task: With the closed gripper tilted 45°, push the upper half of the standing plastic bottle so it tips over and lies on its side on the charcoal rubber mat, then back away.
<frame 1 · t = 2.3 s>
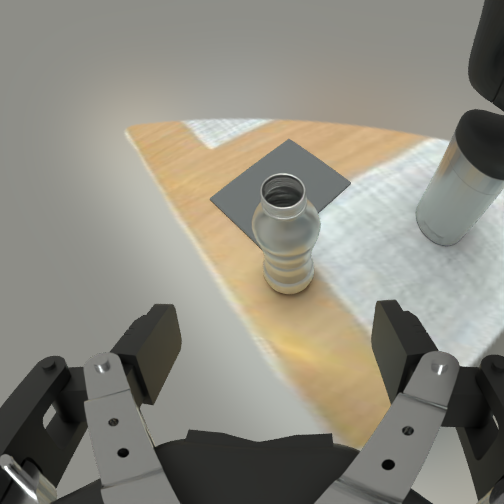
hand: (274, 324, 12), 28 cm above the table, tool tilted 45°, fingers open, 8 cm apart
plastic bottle: (289, 276, 43), on the table
rubber mat: (280, 190, 48), on the table
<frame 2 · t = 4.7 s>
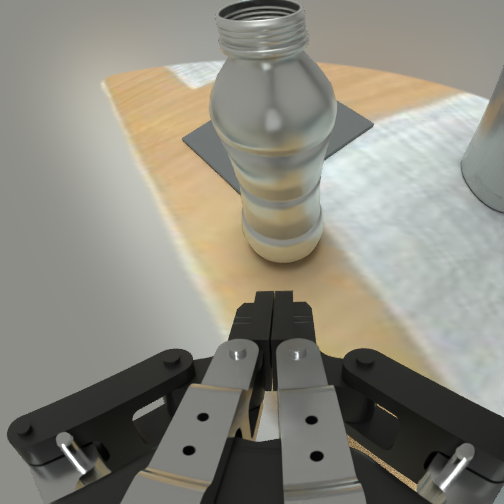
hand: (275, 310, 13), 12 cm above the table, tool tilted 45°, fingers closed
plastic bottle: (284, 238, 28), on the table
rubber mat: (278, 129, 34), on the table
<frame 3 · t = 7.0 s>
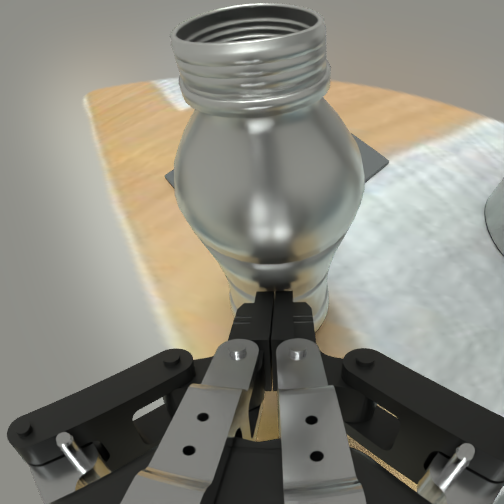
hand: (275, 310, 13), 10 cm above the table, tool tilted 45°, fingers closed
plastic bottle: (280, 312, 23), on the table
rubber mat: (277, 166, 29), on the table
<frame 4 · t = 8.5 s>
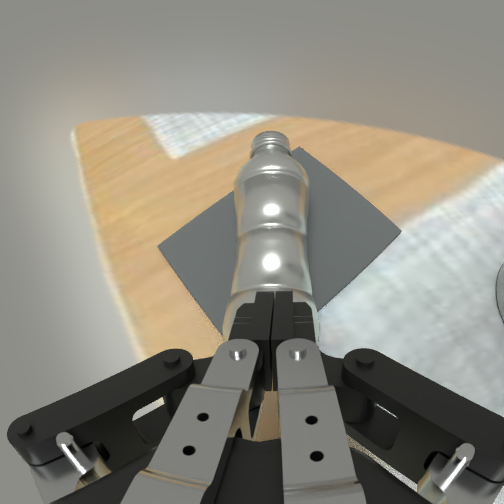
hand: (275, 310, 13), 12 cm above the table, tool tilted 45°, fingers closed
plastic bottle: (270, 371, 19), point 4 cm above the table, touching rubber mat
rubber mat: (279, 239, 27), on the table
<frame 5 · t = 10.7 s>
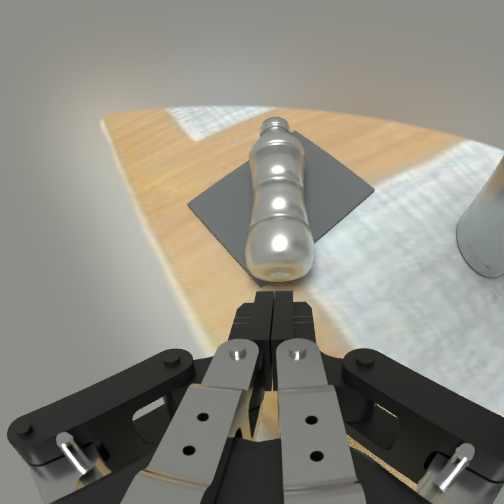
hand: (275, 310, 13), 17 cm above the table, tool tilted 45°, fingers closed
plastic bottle: (280, 279, 28), point 4 cm above the table, touching rubber mat
rubber mat: (281, 196, 36), on the table
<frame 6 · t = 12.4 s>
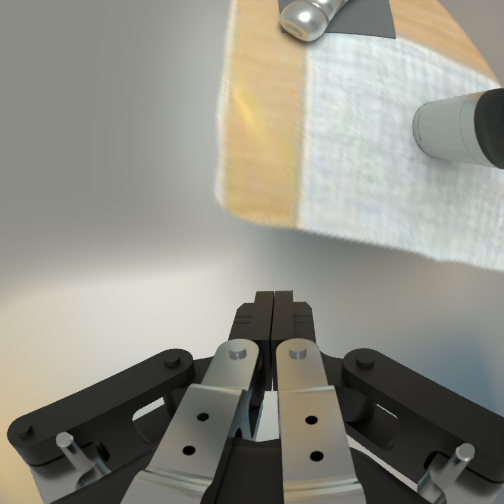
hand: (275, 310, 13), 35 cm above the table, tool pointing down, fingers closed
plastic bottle: (291, 33, 34), point 4 cm above the table, touching rubber mat
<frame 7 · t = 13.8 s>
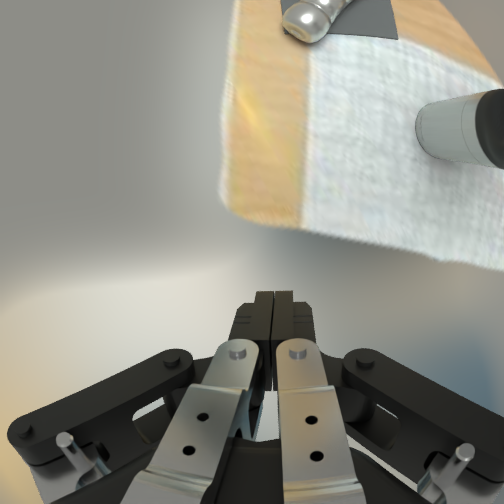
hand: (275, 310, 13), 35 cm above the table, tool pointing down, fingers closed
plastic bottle: (294, 35, 34), point 4 cm above the table, touching rubber mat
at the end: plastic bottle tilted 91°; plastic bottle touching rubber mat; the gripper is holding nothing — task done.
